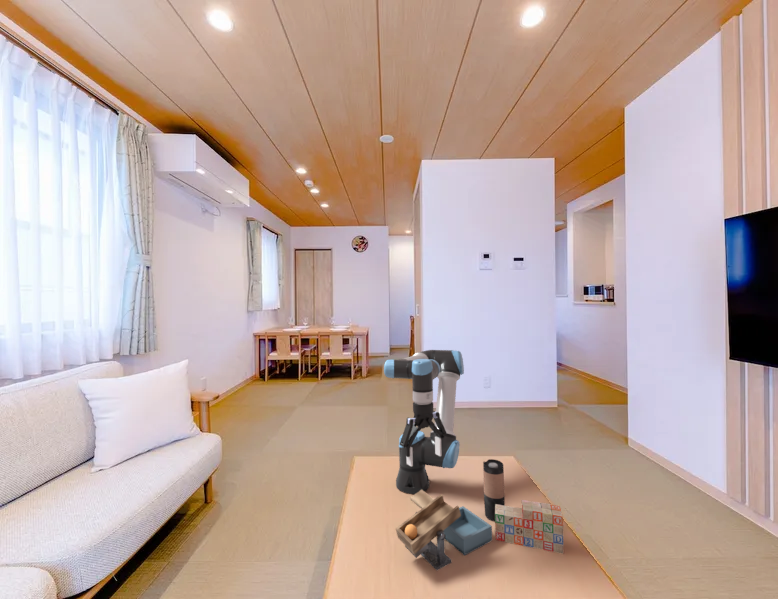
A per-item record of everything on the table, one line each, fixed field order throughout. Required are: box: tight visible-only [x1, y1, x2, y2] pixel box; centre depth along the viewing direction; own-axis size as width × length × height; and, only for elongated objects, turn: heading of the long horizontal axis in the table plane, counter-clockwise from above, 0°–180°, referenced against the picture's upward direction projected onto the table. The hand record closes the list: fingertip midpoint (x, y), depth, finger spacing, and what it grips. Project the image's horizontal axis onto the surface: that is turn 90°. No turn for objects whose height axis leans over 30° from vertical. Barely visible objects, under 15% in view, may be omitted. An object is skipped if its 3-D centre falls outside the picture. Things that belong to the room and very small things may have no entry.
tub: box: [443, 505, 493, 557], centre depth 120 cm, size 13×14×5 cm
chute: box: [395, 490, 461, 559], centre depth 117 cm, size 20×20×6 cm
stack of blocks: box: [494, 499, 565, 555], centre depth 117 cm, size 21×6×12 cm, turn 71°
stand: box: [415, 511, 453, 572], centre depth 112 cm, size 6×14×10 cm, turn 31°
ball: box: [405, 524, 417, 539], centre depth 109 cm, size 4×4×4 cm
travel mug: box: [482, 458, 506, 522], centre depth 131 cm, size 8×8×20 cm
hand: (424, 459), depth 126 cm, fingers open, 13 cm apart
